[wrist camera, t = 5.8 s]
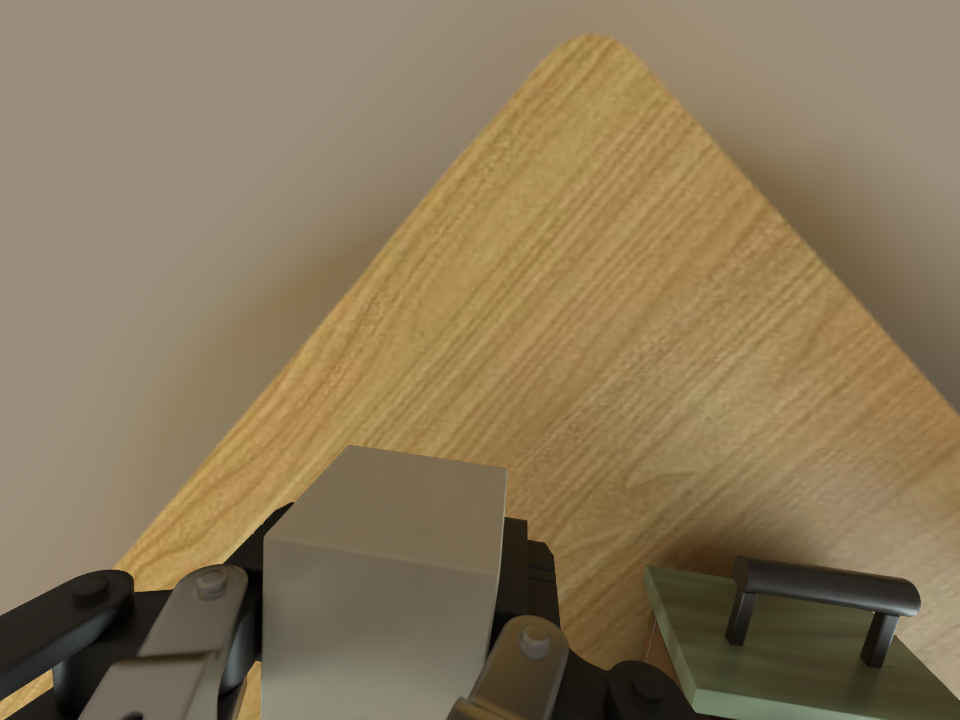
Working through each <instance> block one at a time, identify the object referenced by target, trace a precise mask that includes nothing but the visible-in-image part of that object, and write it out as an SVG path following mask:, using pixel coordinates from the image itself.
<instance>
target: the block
mask: <svg viewBox="0 0 960 720" xmlns="http://www.w3.org/2000/svg"><path fill="white" fill-rule="evenodd" d="M507 475H508V470H507V469H506V468H502V467H495V466H488V465H482V464H475V463H468V462H462V461H455V460H448V459H442V458H435V457H428V456H422V455H415V454H408V453H401V452H395V451H388V450H381V449H375V448H368V447H361V446H355V445H348V446H347V447H346V448H345V449H344V450H343V451H342V452H341V454H340V455H339V456H338V457H337V458H336V459H335V460H334V461H333V462H332V463H331V464H330V465H329V466H328V468H327V469H326V470H325V471H324V472H323V473H322V474H321V475H320V476H319V477H318V478H317V479H316V480H315V482H314V483H313V484H312V485H311V486H310V487H309V488H308V489H307V490H306V491H305V492H304V493H303V494H302V496H301V497H300V498H299V499H298V500H297V501H296V502H295V503H294V504H293V505H292V506H291V507H290V509H289V510H288V511H287V512H286V513H285V514H284V515H283V516H282V517H281V518H280V519H279V520H278V521H277V523H276V524H275V525H274V526H273V527H272V528H271V529H270V530H269V531H268V532H267V533H266V534H265V536H264V547H263V606H262V665H261V720H446V718H447V716H448V714H449V712H450V710H451V709H452V707H453V705H454V703H455V702H456V700H457V699H458V698H459V697H460V696H463V697H465V698H468V696H469V694H470V692H471V690H472V688H473V686H474V684H475V682H476V680H477V678H478V676H479V674H480V672H481V670H482V668H483V666H484V664H485V662H486V660H487V658H488V653H489V646H490V639H491V632H492V625H493V618H494V611H495V604H496V598H497V591H498V584H499V577H500V565H501V552H502V540H503V527H504V514H505V501H506V488H507Z"/></svg>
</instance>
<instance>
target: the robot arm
mask: <svg viewBox="0 0 960 720" xmlns="http://www.w3.org/2000/svg"><path fill="white" fill-rule="evenodd" d="M293 504H294V502H291V503H289V504H287V505H285V506H283V507H281V508H279V509H277V510H275V511H274V512H273V513H272V514H271V515H270V516H269V517H268V518H267V519H266V520H265V521H264V523H263V525H262V524H261V525H260V526H259V528H258V529H257V530H256V531H255V532H254V534H252V535H251V536H250V537H249V538H248V539H247V540H246V541H245V542H244V543H243V544H242V545H241V546H240V547H239V548H238V549H237V550H236V551H235V552H234V553H233V554H232V555H231V556H230V557H229V558H228V559H227V560H226V561H225V562H224V563H223V564H216V565H210V566H206V567H203V568H200V569H197V570H195V571H193V572H191V573H190V574H188V575H186V576H185V577H184V578H182V579H181V580H180V581H179V582H178V583H177V585H176V586H175V588H174V589H172V590H160V591H146V592H134V580H133V577H132V576H131V575H130V574H129V573H127V572H124V571H120V570H101V571H95V572H91V573H87V574H84V575H81V576H78V577H76V578H74V579H72V580H69V581H67V582H65V583H63V584H62V585H60V586H58V587H56V588H54V589H52V590H50V591H48V592H46V593H44V594H42V595H40V596H38V597H36V598H34V599H32V600H30V601H28V602H26V603H25V604H23V605H20V606H19V607H17V608H15V609H13V610H11V611H9V612H7V613H5V614H3V615H1V616H0V701H1V700H3V699H4V698H6V697H8V696H9V695H11V694H12V693H14V692H15V691H17V690H18V689H20V688H22V687H23V686H25V685H26V684H28V683H29V682H31V681H33V680H34V679H36V678H37V677H39V676H40V675H42V674H44V673H45V672H47V671H48V670H50V669H51V668H52V674H53V684H54V687H52V688H51V689H49V690H48V691H46V692H45V693H43V694H42V695H40V696H39V697H37V698H36V699H34V700H33V701H31V702H30V703H28V704H27V705H25V706H24V707H23V708H21V709H20V710H18V711H17V712H15V713H14V714H12V715H11V716H9V717H8V718H6V719H5V720H237V719H238V716H239V712H240V709H241V705H242V702H243V698H244V695H245V691H246V687H247V673H248V672H249V670H250V669H251V667H252V666H253V664H254V663H255V661H260V662H262V606H263V547H264V536H265V534H266V533H267V532H268V531H269V530H270V529H271V528H272V527H273V526H274V525H275V524H276V523H277V521H278V520H279V519H280V518H281V517H282V516H283V515H284V514H285V513H286V512H287V511H288V510H289V509H290V507H291V506H292V505H293ZM446 720H700V718H699V717H698V715H697V714H696V712H695V711H694V709H693V708H692V706H691V705H690V703H689V701H688V700H687V698H686V697H685V695H684V694H683V692H682V691H681V689H680V688H679V687H678V685H677V684H676V683H675V682H674V681H673V680H672V679H671V678H670V677H669V676H668V675H667V674H666V673H664V672H663V671H661V670H660V669H658V668H656V667H655V666H653V665H650V664H648V663H645V662H641V661H635V660H628V661H623V662H620V663H618V664H617V665H615V666H614V667H613V668H612V670H611V672H608V671H606V670H603V669H601V668H599V667H597V666H595V665H592V664H590V663H589V662H587V661H585V660H583V659H582V658H580V657H579V656H578V655H577V654H576V653H574V652H573V651H572V649H571V648H570V647H569V644H568V640H567V638H566V636H565V635H564V633H563V632H562V631H561V627H560V617H559V606H558V596H557V585H556V575H555V564H554V556H553V554H552V553H551V551H550V550H549V548H548V547H547V545H546V544H545V543H544V542H538V541H532V540H528V539H527V520H521V519H515V518H508V517H504V527H503V540H502V552H501V565H500V577H499V584H498V591H497V598H496V604H495V611H494V618H493V625H492V632H491V639H490V646H489V653H488V658H487V660H486V662H485V664H484V666H483V668H482V670H481V672H480V674H479V676H478V678H477V680H476V682H475V684H474V686H473V688H472V690H471V692H470V694H469V696H468V698H465V697H463V696H460V697H459V698H458V699H457V700H456V702H455V703H454V705H453V707H452V709H451V710H450V712H449V714H448V716H447V718H446Z"/></svg>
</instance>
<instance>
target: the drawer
mask: <svg viewBox="0 0 960 720" xmlns="http://www.w3.org/2000/svg"><path fill="white" fill-rule="evenodd" d="M733 577H734V578H728V577H722V576H715V575H709V574H702V573H696V572H689V571H683V570H676V569H669V568H663V567H656V566H650V565H646V569H645V574H644V578H643V586H644V588H645V591H646V594H647V596H648V599H649V602H650V604H651V607H652V611H651V615H650V620H649V624H648V628H647V633H646V637H645V642H644V646H643V650H642V655H641V659H640V661H641V662H645V663H648V664H650V665H653V666H655V667H656V668H658V669H660V670H661V671H663V672H664V673H666V674H667V675H668V676H669V677H670V678H671V679H672V680H673V681H674V682H675V683H676V684H677V685H678V687H679V688H680V689H681V691H682V692H683V694H684V695H685V697H686V698H687V700H688V701H689V703H690V705H691V706H692V708H693V709H694V711H695V712H696V714H697V715H698V717H699V718H700V720H960V700H959V699H958V698H957V697H956V696H955V695H954V694H953V693H952V692H951V691H950V690H949V689H948V688H947V687H946V686H945V685H944V684H943V683H942V682H941V681H940V680H939V679H938V678H937V677H936V676H935V675H934V674H933V673H932V672H931V671H930V670H929V669H928V668H927V667H926V666H925V665H924V664H923V663H922V662H921V661H920V660H919V659H918V658H917V657H916V656H915V655H914V654H913V653H912V652H911V651H910V650H909V649H908V648H907V647H906V646H905V645H904V644H903V643H902V642H901V641H900V640H899V639H898V638H897V637H896V636H895V635H894V632H895V630H896V627H897V624H898V621H899V619H900V616H899V615H901V616H907V617H912V616H915V615H916V614H917V613H918V612H919V610H920V606H921V600H920V595H919V593H918V591H917V589H916V587H915V586H914V585H913V584H912V583H911V582H910V581H908V580H906V579H903V578H897V577H890V576H883V575H877V574H870V573H863V572H857V571H850V570H843V569H836V568H830V567H823V566H816V565H810V564H803V563H796V562H790V561H783V560H776V559H770V558H763V557H756V556H750V555H743V554H739V555H737V556H736V558H735V559H734V563H733ZM871 611H875V614H873V613H872V612H871Z"/></svg>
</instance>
